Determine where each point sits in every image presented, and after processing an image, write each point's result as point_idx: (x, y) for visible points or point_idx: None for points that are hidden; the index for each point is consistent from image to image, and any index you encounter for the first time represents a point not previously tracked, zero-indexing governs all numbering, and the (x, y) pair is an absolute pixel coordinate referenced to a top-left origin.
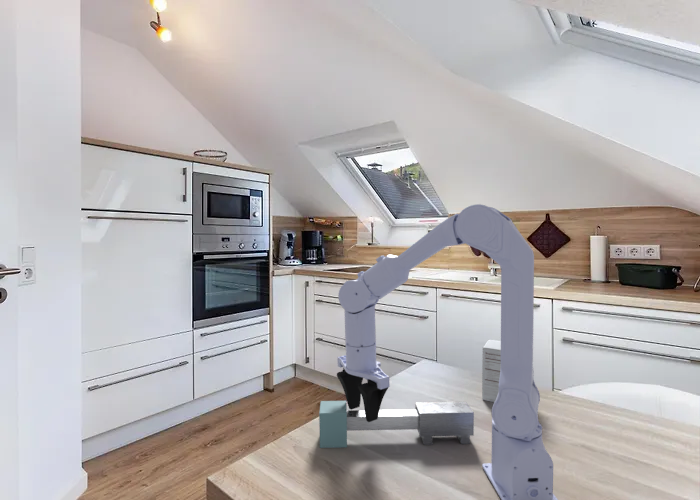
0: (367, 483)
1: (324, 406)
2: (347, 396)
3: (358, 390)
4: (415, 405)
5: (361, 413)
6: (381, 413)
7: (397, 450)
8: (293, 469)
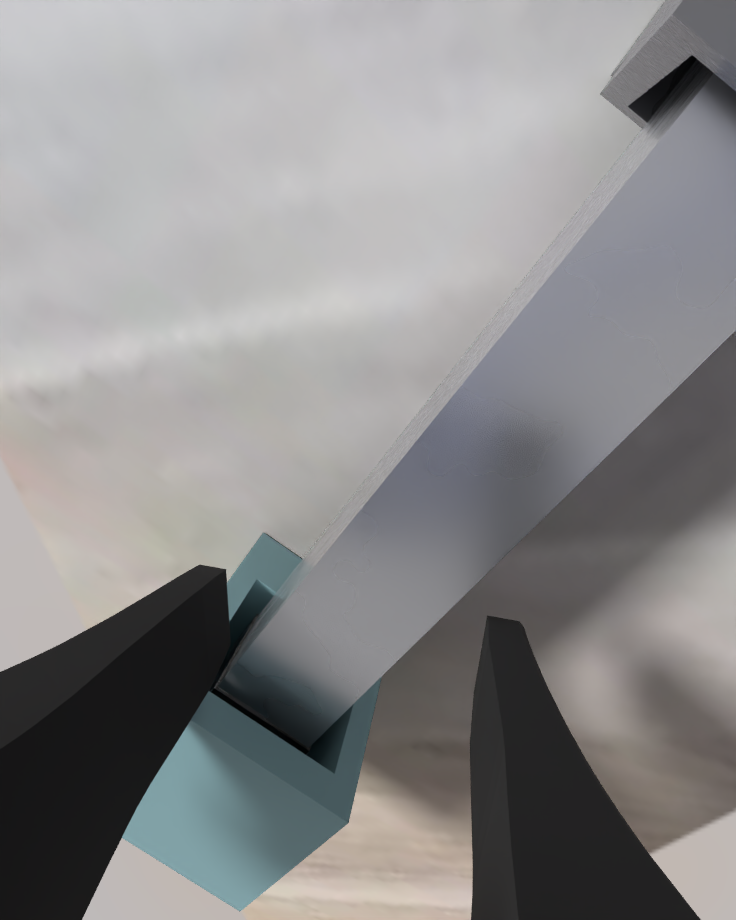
0: (717, 745)
1: (163, 841)
2: (157, 762)
3: (122, 682)
4: (667, 36)
5: (337, 632)
6: (456, 515)
7: (645, 432)
8: (388, 845)
